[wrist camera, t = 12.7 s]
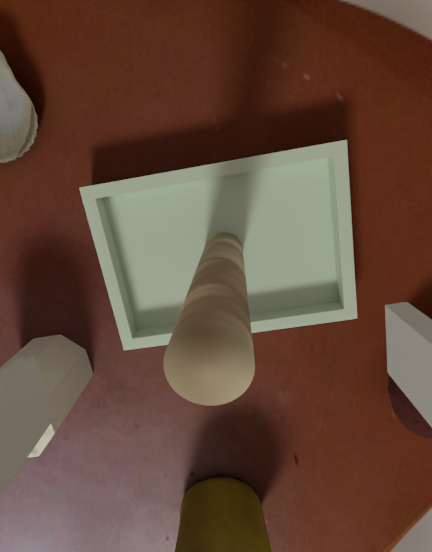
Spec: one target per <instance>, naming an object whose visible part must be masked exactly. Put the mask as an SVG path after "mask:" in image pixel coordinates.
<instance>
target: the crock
mask: <svg viewBox="0 0 432 552" xmlns="http://www.w3.org/2000/svg"><path fill="white" fill-rule="evenodd" d="M32 356H34V357H35V360H36V363H37V365H38V368H39V371H40V374H41V377H42V380H43V382H44V385H45V388H46V391H47V394H48V396H49V399H50V402H51V405H52V408H53V411H54V413H55V418H54V419H53V421H52V422H51V424H50V425H49V427H48V428H47V430H46V431H45V432H44V434H43V435H42V437H41V438H40V440H39V441H38V443H37V444H36V446H35V447H34V448H33V450H32V451H31V453H30V454H29V456H28V457H37V456H39V455H40V454H41V453H42V451H43V450H44V448H45V447H46V445H47V444H48V443H49V441H50V440H51V438H52V437H53V435H54V434H55V432H56V431H57V429H58V428H59V426H60V425H61V423H62V422H63V420H64V419H65V417H66V416H67V414H68V413H69V411H70V409H71V408H72V406H73V405H74V403H75V402H76V400H77V399H78V397H79V396H80V394H81V393H82V391H83V390H84V388H85V387H86V385H87V384H88V382H89V380H90V379H91V377H92V376H93V371H92V368H91V365H90V361H89V358H88V355H87V352H86V350H85V349H84V348H82V347H81V346H79V345H77V344H76V343H74V342H72V341H71V340H69V339H67V338H66V337H64V336H63V335H61V334H60V335H53V336H46V337H39V338H33V339H32V340H31V341H30V342H29V343H28V344H27V345H25V346H24V347H23V348H22V349H21V350H20V351H19V352H18V353H16V354H15V355H14V356H13V357H12V358H11V359H10V360H8V361H7V362H6V363H5V364H4V365H3V366H2V367H0V372H1V371H2V370H3V369H5V368H6V367H7V366H8V365H9V364H10V363H11V362H12V361H13V360H15V359H18V358H25V357H32ZM28 457H27V458H28Z"/></svg>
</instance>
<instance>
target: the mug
mask: <svg viewBox="0 0 432 552" xmlns="http://www.w3.org/2000/svg"><path fill="white" fill-rule="evenodd" d="M175 552H271V547H270V542H269V538H268V533H267V529H266V524H265V520H264V515H263V511H262V506H261V503H260V500H259V498H258V496H257V494H256V493H255V492H254V490H253V489H252V488H251V487H250V486H249V485H248V484H246V483H245V482H241V481H239V480H236V479H234V478H231V477H212V478H209V479H207V480H205V481H201V482H198V483H196V484H195V485H194V486H192V487H191V488H190V489H189V490H188V491H187V492H186V494H185V496H184V498H183V501H182V505H181V511H180V526H179V532H178V538H177V543H176V549H175Z"/></svg>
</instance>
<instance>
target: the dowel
mask: <svg viewBox="0 0 432 552" xmlns="http://www.w3.org/2000/svg"><path fill="white" fill-rule="evenodd" d="M164 372H165V376H166V378H167V380H168V382H169V384H170V385H171V387H172V388H173V389H174V390H175V391H176V392H177V393H178V394H179V395H180V396H182V397H183V398H185V399H187V400H188V401H191V402H193V403H196V404H200V405H209V406H213V405H221V404H225V403H228V402H231V401H233V400H235V399H236V398H238V397H239V396H241V395H242V394H243V393H244V392H245V391H246V390H247V388H248V387H249V385H250V384H251V382H252V379H253V377H254V372H255V361H254V352H253V342H252V333H251V323H250V314H249V305H248V295H247V286H246V276H245V267H244V258H243V248H242V244H241V242H240V241H239V239H238V238H237V237H236V236H235V235H233V234H231V233H228V232H219V233H216V234H214V235H213V236H211V237H210V238H209V239H208V241H207V242H206V245H205V247H204V250H203V253H202V255H201V258H200V261H199V263H198V266H197V269H196V271H195V274H194V277H193V279H192V282H191V285H190V288H189V290H188V293H187V296H186V298H185V301H184V304H183V306H182V309H181V312H180V314H179V317H178V320H177V322H176V325H175V328H174V330H173V333H172V336H171V338H170V341H169V344H168V346H167V349H166V352H165V355H164Z"/></svg>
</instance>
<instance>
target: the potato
mask: <svg viewBox="0 0 432 552" xmlns="http://www.w3.org/2000/svg"><path fill="white" fill-rule="evenodd" d="M388 389H389V394H390V398H391V402H392V406H393V410H394V413H395V414H396V416H397V417H398V418H399V420H400V421H401V423H402V424H403V425H404V426H405V427H406V428H407V429H408V430H410V431H411V432H413V433H415V434H417V435H418V436H421V437H424V438H427V439H432V427H431V426H430V425H429V424H428V422H427V421H426V420H425V419H424V417H423V416H422V415H421V414H420V412H419V411H418V410H417V409H416V407H415V406H414V405H413V404H412V402H411V401H410V400H409V399H408V397H407V396H406V395H405V394H404V393H403V391H402V390H401V389H400V388H399V386H398V385H397V384H396V383H395V381H394V380H393V379H392V378H391V376H390V375H389V386H388Z"/></svg>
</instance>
